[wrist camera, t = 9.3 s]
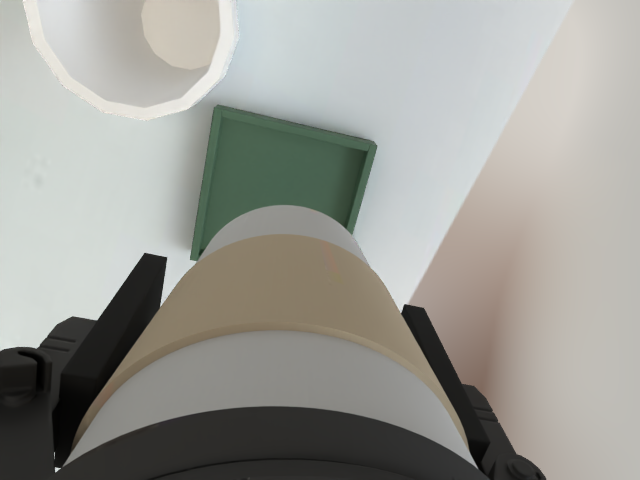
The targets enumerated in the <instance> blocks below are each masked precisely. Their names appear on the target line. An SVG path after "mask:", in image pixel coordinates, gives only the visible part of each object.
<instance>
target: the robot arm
mask: <svg viewBox="0 0 640 480" xmlns="http://www.w3.org/2000/svg"><path fill="white" fill-rule="evenodd" d="M166 263H167V257H163V256H158V255H153V254H148V253H144V255H143V256H142V258H141V259H140V260H139V262H138V263H137V265H136V266H135V268H134V269H133V270H132V272H131V273H130V275H129V276H128V278H127V279H126V280H125V282H124V283H123V285H122V286H121V288H120V289H119V290H118V292H117V293H116V295H115V296H114V298H113V299H112V300H111V302H110V303H109V305H108V306H107V308H106V309H105V310H104V312H103V313H102V315H101V316H100V318H99V319H98V320H97V321H96V320H90V319H85V318H79V317H73V316H72V317H70V318H68V319H67V320H65V321H63V322H61V323H59V324H57V325H56V326H55V327H54V329H53V330H52V331H51V332H50V333H49V335H48V336H47V338H45V339H44V341H43V342H42V343H41V344H40V347H38V348H37V349H35V348H32V347H15V348H9V349H4V350H2V351H0V480H47V479H48V478H49V477H50V476H52V475H53V474H54V473H55V467H57V468H62V467H63V465H64V464H65V462H66V461H67V459H68V457H69V456H70V452H71V448H72V444H73V441H74V438H75V435H76V432H77V430H78V428H79V426H80V423H81V421H82V419H83V418H84V416H85V414H86V412H87V411H88V409H89V408H90V406H91V405H92V403H93V402H94V400H95V399H96V398H97V396H98V395H99V393H100V392H101V391H102V389H103V388H104V386H105V385H106V384H107V382H108V381H109V379H110V378H111V377H112V375H113V374H114V372H115V371H116V369H117V368H118V367H119V365H120V364H121V362H122V361H123V360H124V358H125V357H126V355H127V354H128V353H129V351H130V350H131V348H132V347H133V345H134V344H135V343H136V341H137V340H138V338H139V337H140V336H141V334H142V333H143V331H144V330H145V329H146V327H147V326H148V324H149V323H150V321H151V320H152V319H153V317H154V316H155V314H156V313H157V312H158V310H159V309H160V303H161V296H162V290H163V283H164V276H165V269H166ZM401 315H402V317H403V318H404V320H405V322H406V324H407V326H408V327H409V329H410V331H411V333H412V335H413V336H414V338H415V340H416V342H417V343H418V345H419V347H420V349H421V351H422V352H423V354H424V356H425V358H426V360H427V361H428V363H429V365H430V367H431V369H432V370H433V372H434V374H435V376H436V377H437V379H438V381H439V383H440V385H441V386H442V388H443V390H444V392H445V394H446V395H447V397H448V399H449V401H450V402H451V404H452V406H453V408H454V410H455V411H456V413H457V415H458V417H459V419H460V421H461V424H462V426H463V429H464V432H465V435H466V438H467V442H468V446H469V452H470V454H471V456H472V458H473V460H474V462H475V464H476V466H477V467H478V469H479V470H480V471H481V472H482V473H483V474H485V475H486V476H487V477H488V478H489V479H490V480H546V478H545V476H544V475H543V473H542V472H541V470H540V469H539V468H538V467H537V466H536V465H534V464H533V463H532V462H531V461H529V460H528V459H526V458H524V457H522V456H520V455H517V454H516V452H515V451H514V449H513V447H512V445H511V443H510V441H509V439H508V438H507V436H506V434H505V432H504V430H503V428H502V427H501V425H500V423H498V419H497V417H496V416H495V414H494V413H493V412H492V411H493V410H492V408H491V407H490V405H489V403H488V401H487V399H486V398H485V397H484V396H483V395H482V394H481V393H480V392H479V391H478V390H477V389H476V388H475V387H474V386H471V385H465V384H461V382H460V380H459V378H458V376H457V373H456V371H455V370H454V367H453V365H452V364H451V361H450V359H449V358H448V355H447V353H446V351H445V350H444V347H443V345H442V343H441V341H440V339H439V337H438V335H437V333H436V331H435V329H434V327H433V325H432V323H431V321H430V319H429V317H428V315H427V313H426V311H425V309H424V308H421V307H416V306H411V305H406V304H404V307H403V310H402V313H401ZM54 452H55V460H54Z"/></svg>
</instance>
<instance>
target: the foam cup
mask: <svg viewBox="0 0 640 480" xmlns="http://www.w3.org/2000/svg"><path fill="white" fill-rule="evenodd" d="M23 4H24V9H25V13H26V17H27V22H28V26H29V30H30V35H31V39H32V43H33V44H34V46H35V47H36V49H37V50H38V52H39V53H40V55H41V56H42V57H43V59H44V60H45V62H46V63H47V65H48V66H49V67H50V69H51V70H52V72H53V73H54V75H55V76H56V78H57V79H58V80H59V82H60V83H61V85H62V86H64V87H65V88H67V89H68V90H70V91H71V92H73V93H74V94H76V95H77V96H79V97H80V98H82V99H83V100H85V101H86V102H88V103H89V104H91V105H92V106H94V107H95V108H97V109H98V110H100V111H101V112H103V113H108V114H113V115H119V116H124V117H129V118H135V119H140V120H146V121H148V120H151V119H155V118H159V117H162V116H166V115H169V114H173V113H177V112H180V111H184V110H187V109H189V108H191V107H192V106H194V105H196V104H197V103H198V102H199V101H200V100H201V99H202V98H203V97H204V96H205V95H207V94H208V93H209V92H210V91H211V90H212V89H213V88H214V87H215V86H216V85H217V84H218V83H219V82H220V81H221V80H222V79H223V78H225V76H226V73H227V70H228V68H229V65H230V62H231V59H232V56H233V54H234V51H235V48H236V45H237V42H238V40H239V27H238V15H237V3H236V0H23Z"/></svg>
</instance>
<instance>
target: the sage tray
mask: <svg viewBox="0 0 640 480" xmlns="http://www.w3.org/2000/svg"><path fill="white" fill-rule="evenodd" d="M376 149H377V145H376V144H375V142H374V141H369V140H365V139H361V138H357V137H353V136H348V135H344V134H340V133H336V132H331V131H327V130H323V129H319V128H314V127H310V126H306V125H302V124H298V123H293V122H289V121H285V120H281V119H276V118H272V117H268V116H264V115H260V114H255V113H251V112H247V111H243V110H238V109H234V108H230V107H226V106H221V105H217V106H216V107H214V111H213V117H212V124H211V130H210V136H209V143H208V149H207V155H206V162H205V168H204V174H203V180H202V187H201V193H200V199H199V206H198V212H197V218H196V225H195V231H194V237H193V243H192V250H191V256H190V260H194V261H197V260H198V259H199V258H200V256H201V255H202V253H203V252H204V250H205V249H206V247H207V246H208V244H209V243H210V241H211V240H212V239H213V237H214V236H215V235H216V234H217V233H218V232H219V231H220V230H221V229H222V228H223V227H224V226H225V225H227V224H228V223H229V222H231V221H232V220H234V219H235V218H237V217H239V216H241V215H243V214H245V213H247V212H249V211H252V210H255V209H259V208H263V207H268V206H275V205H293V206H301V207H306V208H310V209H313V210H316V211H318V212H321V213H323V214H325V215H327V216H329V217H331V218H332V219H334V220H335V221H337V222H338V223H339V224H341V225H342V226H343V227H344V228H345V229H346V230H347V231H348V232H349V233H350V234H351V235H352V234H353V231H354V227H355V224H356V220H357V216H358V213H359V209H360V206H361V202H362V199H363V195H364V192H365V188H366V185H367V181H368V178H369V174H370V171H371V167H372V163H373V160H374V156H375V153H376Z"/></svg>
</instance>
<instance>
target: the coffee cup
mask: <svg viewBox="0 0 640 480" xmlns="http://www.w3.org/2000/svg"><path fill="white" fill-rule="evenodd" d="M47 480H490V479H489V478H488V477H487V476H486V475H485V474H483V473H482V472H481V471H480V470H479V469H478V467H477V466H476V464H475V462H474V460H473V458H472V456H471V454H470V452H469V446H468V442H467V438H466V435H465V432H464V429H463V426H462V424H461V421H460V419H459V417H458V415H457V413H456V411H455V410H454V408H453V406H452V404H451V402H450V401H449V399H448V397H447V395H446V394H445V392H444V390H443V388H442V386H441V385H440V383H439V381H438V379H437V377H436V376H435V374H434V372H433V370H432V369H431V367H430V365H429V363H428V361H427V360H426V358H425V356H424V354H423V352H422V351H421V349H420V347H419V345H418V343H417V342H416V340H415V338H414V336H413V335H412V333H411V331H410V329H409V327H408V326H407V324H406V322H405V320H404V318H403V317H402V315H401V313H400V311H399V309H398V308H397V306H396V304H395V302H394V301H393V299H392V297H391V295H390V293H389V292H388V290H387V288H386V286H385V285H384V283H383V282H382V280H381V279H380V278H379V277H378V275H377V274H376V273H375V272H374V271H373V270H372V269H371V268H370V266H369V264H368V262H367V260H366V258H365V257H364V255H363V253H362V251H361V249H360V247H359V245H358V244H357V242H356V241H355V239H354V238H353V236H352V235H351V234H350V233H349V232H348V231H347V230H346V229H345V228H344V227H343V226H342V225H341V224H339V223H338V222H337V221H335V220H334V219H332V218H331V217H329V216H327V215H325V214H323V213H321V212H318V211H316V210H313V209H310V208H306V207H301V206H293V205H275V206H268V207H263V208H259V209H255V210H252V211H249V212H247V213H245V214H243V215H241V216H239V217H237V218H235V219H234V220H232V221H231V222H229V223H228V224H227V225H225V226H224V227H223V228H222V229H221V230H220V231H219V232H218V233H217V234H216V235H215V236H214V237H213V239H212V240H211V241H210V243H209V244H208V246H207V247H206V249H205V250H204V252H203V253H202V255H201V256H200V258H199V259H198V261H197V262H196V264H195V265H194V266H193V267H192V268H191V269H190V270H189V271H188V272H187V273H186V274H185V275H184V276H183V277H182V278H181V280H180V281H179V282H178V284H177V285H176V286H175V288H174V289H173V290H172V292H171V293H170V295H169V296H168V297H167V299H166V300H165V302H164V303H163V305H162V306H161V307H160V309H159V310H158V312H157V313H156V314H155V316H154V317H153V319H152V320H151V321H150V323H149V324H148V326H147V327H146V329H145V330H144V331H143V333H142V334H141V336H140V337H139V338H138V340H137V341H136V343H135V344H134V345H133V347H132V348H131V350H130V351H129V353H128V354H127V355H126V357H125V358H124V360H123V361H122V362H121V364H120V365H119V367H118V368H117V369H116V371H115V372H114V374H113V375H112V377H111V378H110V379H109V381H108V382H107V384H106V385H105V386H104V388H103V389H102V391H101V392H100V393H99V395H98V396H97V398H96V399H95V400H94V402H93V403H92V405H91V406H90V408H89V409H88V411H87V412H86V414H85V416H84V418H83V419H82V421H81V423H80V426H79V428H78V430H77V432H76V435H75V438H74V441H73V444H72V448H71V452H70V456H69V457H68V459H67V461H66V462H65V464H64V465H63V467H62V468H61V469H60V470H58V471H57V472H56V473H54V474H53V475H52V476H50V477H49V478H48V479H47Z"/></svg>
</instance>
